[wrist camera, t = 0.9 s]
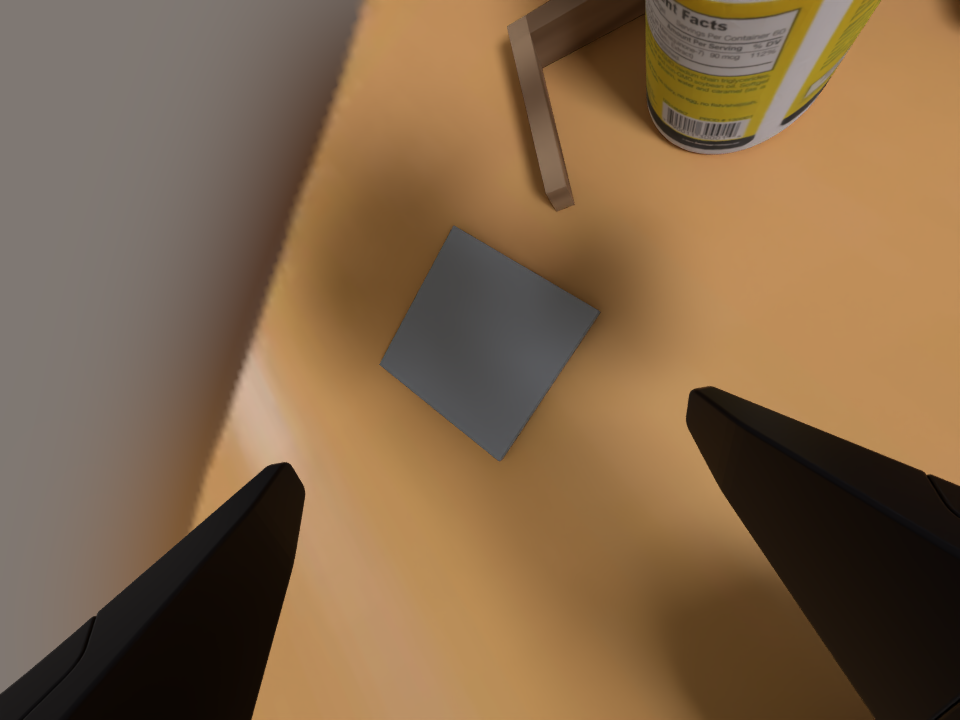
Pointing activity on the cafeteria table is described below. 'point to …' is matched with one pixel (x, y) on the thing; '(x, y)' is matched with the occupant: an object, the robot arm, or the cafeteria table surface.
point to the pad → (485, 340)
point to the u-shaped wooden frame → (541, 41)
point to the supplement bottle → (742, 65)
